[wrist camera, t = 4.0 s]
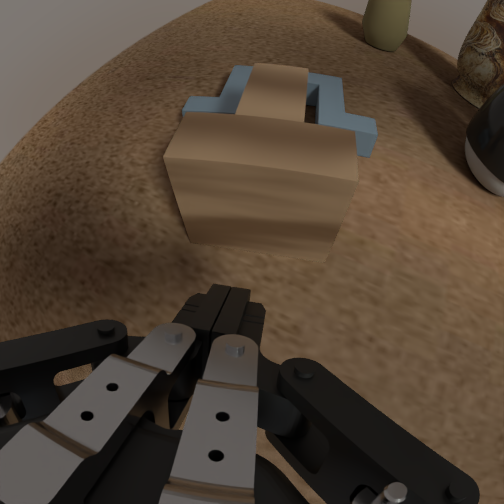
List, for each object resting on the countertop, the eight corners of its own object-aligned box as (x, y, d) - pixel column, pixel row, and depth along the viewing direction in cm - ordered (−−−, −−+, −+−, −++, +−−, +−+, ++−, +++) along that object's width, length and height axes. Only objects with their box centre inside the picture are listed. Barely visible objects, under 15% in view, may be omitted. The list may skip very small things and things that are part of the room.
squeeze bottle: (392, 59, 39) (415, -34, 24) (350, 40, 42) (365, -50, 26) (407, 50, 42) (428, -31, 26) (370, 33, 45) (384, -46, 29)
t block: (324, 262, 22) (358, 181, 15) (190, 242, 23) (162, 157, 15) (329, 157, 28) (348, 75, 20) (223, 143, 28) (215, 60, 20)
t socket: (369, 157, 28) (377, 135, 25) (186, 133, 29) (181, 110, 26) (362, 103, 32) (367, 83, 29) (211, 84, 34) (209, 64, 31)
